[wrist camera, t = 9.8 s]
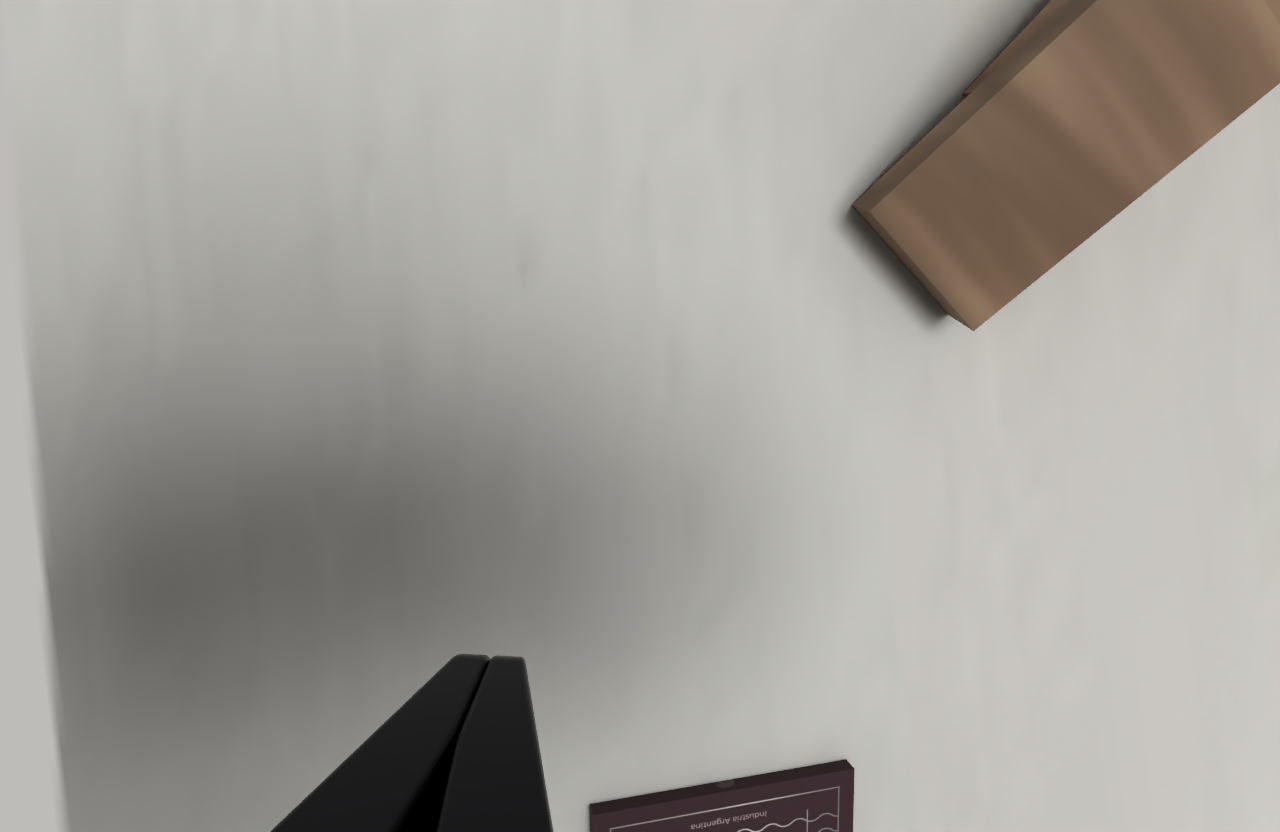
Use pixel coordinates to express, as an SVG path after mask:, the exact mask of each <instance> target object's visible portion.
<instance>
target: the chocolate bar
mask: <svg viewBox="0 0 1280 832" xmlns="http://www.w3.org/2000/svg"><path fill="white" fill-rule="evenodd" d="M853 802H854V768H853V767H852V766H851V764H850V763H849V762H848V761H847V760H841V761H835V762H829V763H824V764H818V765H812V766H806V767H801V768H795V769H789V770H783V771H778V772H772V773H766V774H761V775H755V776H749V777H743V778H738V779H732V780H726V781H720V782H715V783H709V784H703V785H698V786H692V787H686V788H680V789H675V790H669V791H663V792H657V793H652V794H646V795H640V796H635V797H629V798H623V799H617V800H612V801H606V802H600V803H594V804H590V832H853Z"/></svg>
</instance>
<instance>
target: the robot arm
mask: <svg viewBox="0 0 1280 832" xmlns="http://www.w3.org/2000/svg"><path fill="white" fill-rule="evenodd" d="M271 832H553V827H552V821H551V815H550V809H549V803H548V797H547V791H546V785H545V779H544V773H543V766H542V760H541V754H540V748H539V742H538V736H537V730H536V724H535V718H534V712H533V706H532V700H531V693H530V687H529V681H528V675H527V669H526V664H525V660H524V659H523V658H522V657H514V656H494V657H492V658H491V660H490V658H489V657H488V656H486V655H474V654H459V655H456V656H455V657H453V658H452V659H451V660H450V661H449V662H448V663H447V664H446V665H445V666H444V667H442V668H441V669H440V670H439V671H438V672H437V673H436V674H435V675H434V676H433V677H432V678H431V679H430V680H429V681H428V682H427V683H426V684H425V685H424V686H423V687H422V688H420V689H419V690H418V691H417V692H416V693H415V694H414V695H413V696H412V697H411V698H410V699H409V700H408V701H407V702H406V703H405V704H404V705H403V706H402V707H401V708H400V709H398V710H397V711H396V712H395V713H394V714H393V715H392V716H391V717H390V718H389V719H388V720H387V721H386V722H385V723H384V724H383V725H382V726H381V727H380V728H379V729H378V730H376V731H375V732H374V733H373V734H372V735H371V736H370V737H369V738H368V739H367V740H366V741H365V742H364V743H363V744H362V745H361V746H360V747H359V748H358V749H357V750H356V751H354V752H353V753H352V754H351V755H350V756H349V757H348V758H347V759H346V760H345V761H344V762H343V763H342V764H341V765H340V766H339V767H338V768H337V769H336V770H335V771H333V772H332V773H331V774H330V775H329V776H328V777H327V778H326V779H325V780H324V781H323V782H322V783H321V784H320V785H319V786H318V787H317V788H316V789H315V790H314V791H313V792H311V793H310V794H309V795H308V796H307V797H306V798H305V799H304V800H303V801H302V802H301V803H300V804H299V805H298V806H297V807H296V808H295V809H294V810H293V811H292V812H291V813H289V814H288V815H287V816H286V817H285V818H284V819H283V820H282V821H281V822H280V823H279V824H278V825H277V826H276V827H275V828H274V829H273V830H272V831H271Z"/></svg>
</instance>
